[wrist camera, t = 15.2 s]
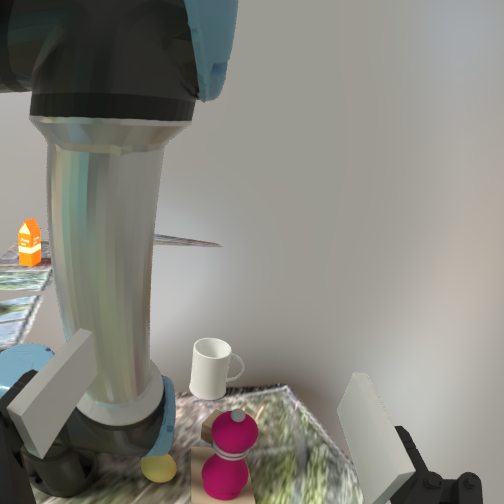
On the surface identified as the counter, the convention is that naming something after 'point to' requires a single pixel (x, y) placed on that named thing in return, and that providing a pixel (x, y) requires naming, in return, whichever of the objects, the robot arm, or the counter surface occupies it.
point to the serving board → (198, 495)
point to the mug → (211, 368)
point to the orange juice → (29, 243)
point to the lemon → (158, 468)
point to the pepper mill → (229, 455)
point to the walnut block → (209, 427)
